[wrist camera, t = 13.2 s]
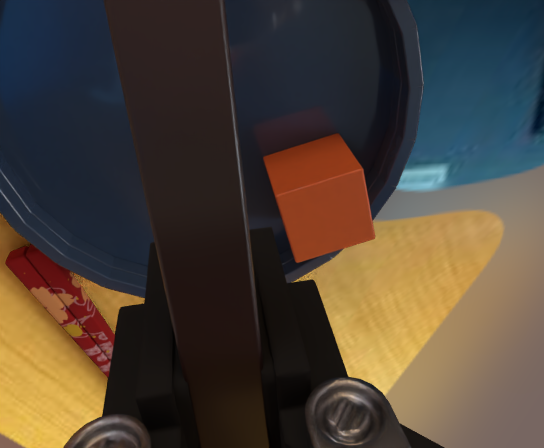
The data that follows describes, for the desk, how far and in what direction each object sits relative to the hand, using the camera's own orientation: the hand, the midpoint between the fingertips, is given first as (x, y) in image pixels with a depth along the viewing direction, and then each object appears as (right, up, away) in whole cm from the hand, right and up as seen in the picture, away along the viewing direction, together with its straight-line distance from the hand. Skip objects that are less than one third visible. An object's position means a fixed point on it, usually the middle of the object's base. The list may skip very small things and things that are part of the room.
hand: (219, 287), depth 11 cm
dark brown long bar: (0, -1, -2) cm, 3 cm away
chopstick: (-6, -8, +18) cm, 21 cm away
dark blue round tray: (-2, +6, +9) cm, 11 cm away
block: (+1, +2, +10) cm, 10 cm away
